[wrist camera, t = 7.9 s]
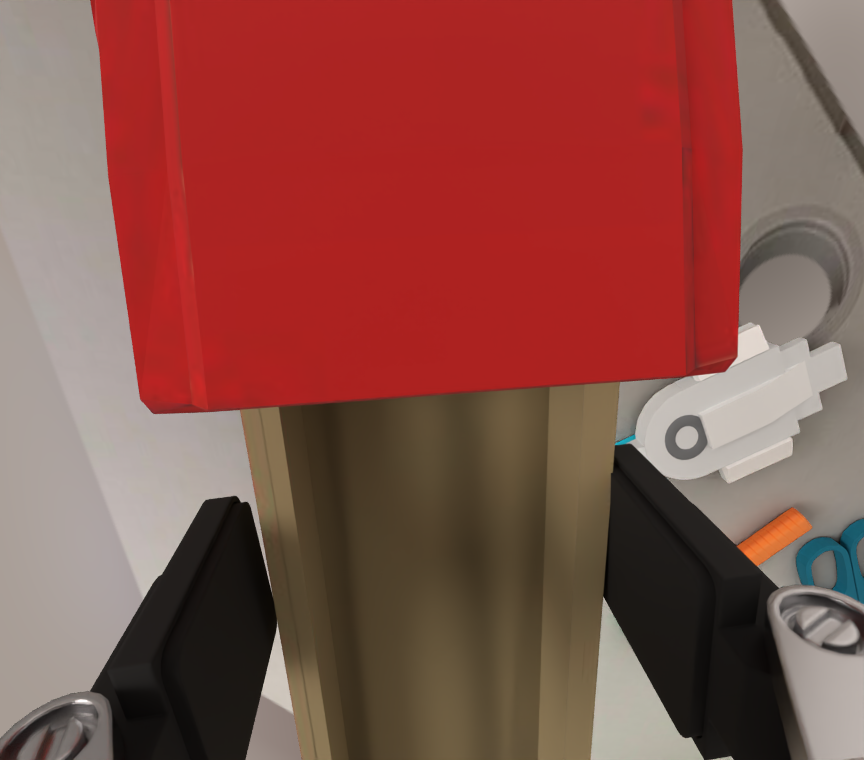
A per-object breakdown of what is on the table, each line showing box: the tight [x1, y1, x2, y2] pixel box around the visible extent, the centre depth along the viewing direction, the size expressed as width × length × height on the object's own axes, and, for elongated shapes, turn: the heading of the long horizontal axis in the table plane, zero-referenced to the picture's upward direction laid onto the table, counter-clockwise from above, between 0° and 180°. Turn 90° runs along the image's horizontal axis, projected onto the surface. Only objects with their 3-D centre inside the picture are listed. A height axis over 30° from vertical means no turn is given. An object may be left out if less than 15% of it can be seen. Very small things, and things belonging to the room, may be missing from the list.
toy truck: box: [90, 0, 743, 760], centre depth 11 cm, size 7×21×10 cm, turn 2°
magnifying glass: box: [737, 508, 812, 566], centre depth 39 cm, size 15×6×2 cm, turn 133°
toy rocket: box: [615, 322, 847, 484], centre depth 34 cm, size 16×10×2 cm, turn 115°
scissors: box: [796, 519, 864, 604], centre depth 42 cm, size 7×1×20 cm
